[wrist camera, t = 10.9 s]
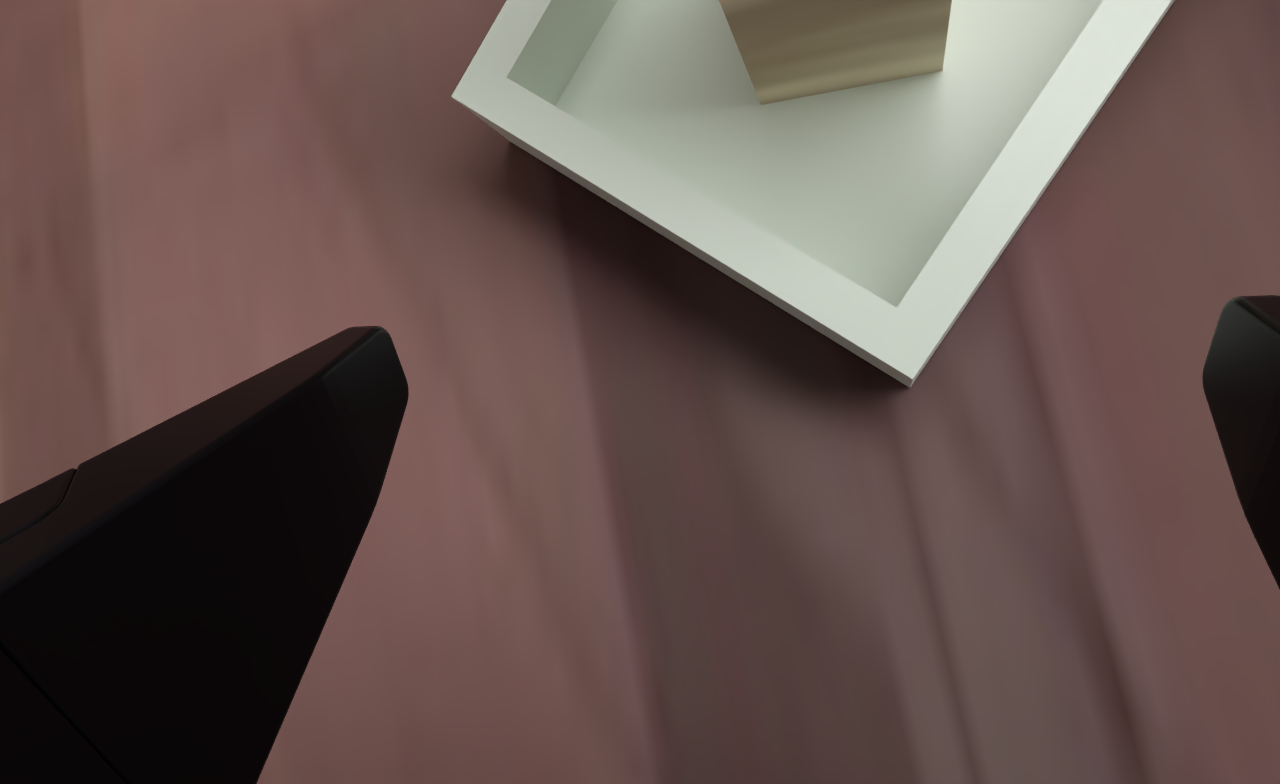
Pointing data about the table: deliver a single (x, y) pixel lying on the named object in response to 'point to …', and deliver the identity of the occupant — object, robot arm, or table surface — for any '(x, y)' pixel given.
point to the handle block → (835, 42)
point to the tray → (813, 148)
